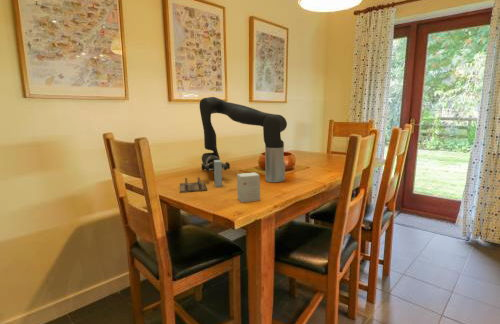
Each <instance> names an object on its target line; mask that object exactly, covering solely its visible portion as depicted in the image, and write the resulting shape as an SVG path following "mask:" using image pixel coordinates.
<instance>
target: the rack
mask: <svg viewBox="0 0 500 324" xmlns="http://www.w3.org/2000/svg"><path fill="white" fill-rule="evenodd" d="M207 191H208V186H207V184H206V182H205V181H201V178H200V176H198V177H197V181H196V182H188V178H187V177H184V183H182V182H181V183H179V193H181V194H182V193H183V194H184V193H194V192H207Z"/></svg>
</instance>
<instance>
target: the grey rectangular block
mask: <svg viewBox="0 0 500 324" xmlns="http://www.w3.org/2000/svg"><path fill="white" fill-rule="evenodd" d="M222 163H223V162H222V160H221V159H220V160H214V171H213V173H214V174H213V175H214V177H213V178H214V186H215V188H222V187H223V171H222V170H223V169H222Z"/></svg>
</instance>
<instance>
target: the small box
mask: <svg viewBox="0 0 500 324" xmlns="http://www.w3.org/2000/svg"><path fill="white" fill-rule="evenodd" d="M260 177H261V175H260V174H258V173H257V172H256V171H254V172H246V173H245V172H244V173H242V172H241V173H237V174H236V180H237V181H236V184H237V185H236V186H237V187H236V188H237V199H238V201H240V202H241V203H250V202H257V201H260V200H261V178H260Z"/></svg>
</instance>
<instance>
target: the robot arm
mask: <svg viewBox="0 0 500 324" xmlns="http://www.w3.org/2000/svg"><path fill="white" fill-rule="evenodd" d="M199 111H200V112H199V113H200V118H201V124H202V129H203V136H204V137H203V138H204V140H203V141H204V148H205V150H208V151H211V152H204V153H203V154H202V156H201V171H207V172H210V171H211V172H214V160H220V161H221V158H220V153H219V152H218V147H217V145H218V144H217V134H216V133H217V132H216V131H215V128H214V127H213V123H212V114H221V115H225V116H227V117H228V118H229V119H230V120H232V121H234V122H236V123H240V124H242V125H249V126H259V127H262V128H263V129H262V132H263V134H262V135H263V142H264V144H265V146H264V147H265V148H264V149H265V152H264V153H265V154H264V155H265V157H264V159H265V160H264V161H265V162H264V163H265V164H264V165H265V169H264V170H265V172H264V173H265V177H264V178H265V182H268V183H281V182H285V181H286V162H285V161H284V159H285V157H284V156H285V155H284V154H285V152H284V151H285V150H284V149H285V142H284V141H283V140H282V138H281V137H282V136H281V133H282V132H284V131H285V130H286V128H287V126H288V123H287V120H286V118H285V117H284V116H283V115H281V114H277V113H276V114H275V113H269V112H264V111H260V110H258V109H255V108H253V107H251V106H246V105H243V104H239V103H233V102H228V101H226V100H223V99H221V98H218V97H215V96H209V97H203V98H202V99H201V100H200V101H199ZM230 166H231V164H230V163H229V162H228V161H226V162H225V163H224V162H222V170H224V171H227V170H230V169H231V167H230Z"/></svg>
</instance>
